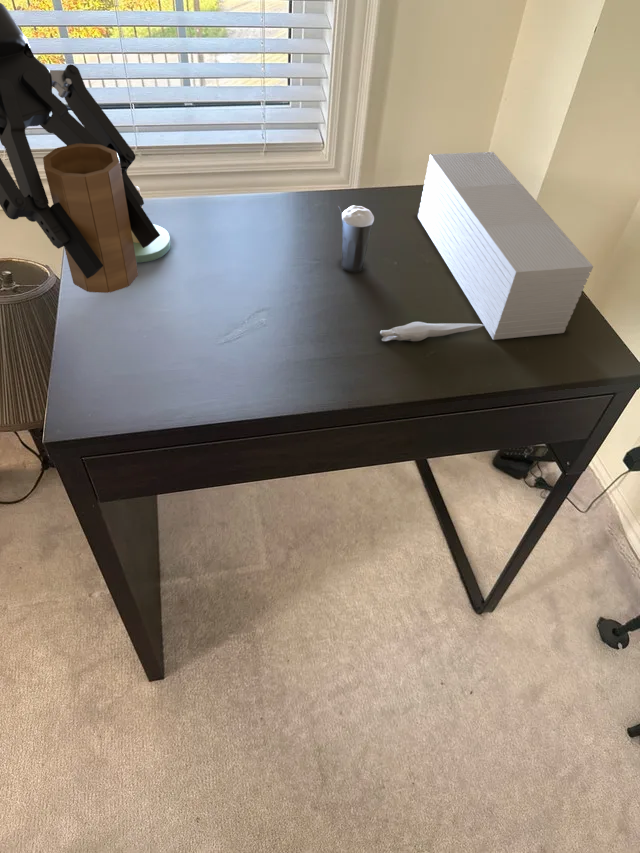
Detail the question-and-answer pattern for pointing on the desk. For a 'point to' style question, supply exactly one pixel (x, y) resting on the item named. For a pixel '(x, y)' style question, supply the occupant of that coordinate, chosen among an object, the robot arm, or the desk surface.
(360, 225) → the milkshake
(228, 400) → the desk surface
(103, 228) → the tube
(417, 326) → the white tapered spindle
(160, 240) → the holder
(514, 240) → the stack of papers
